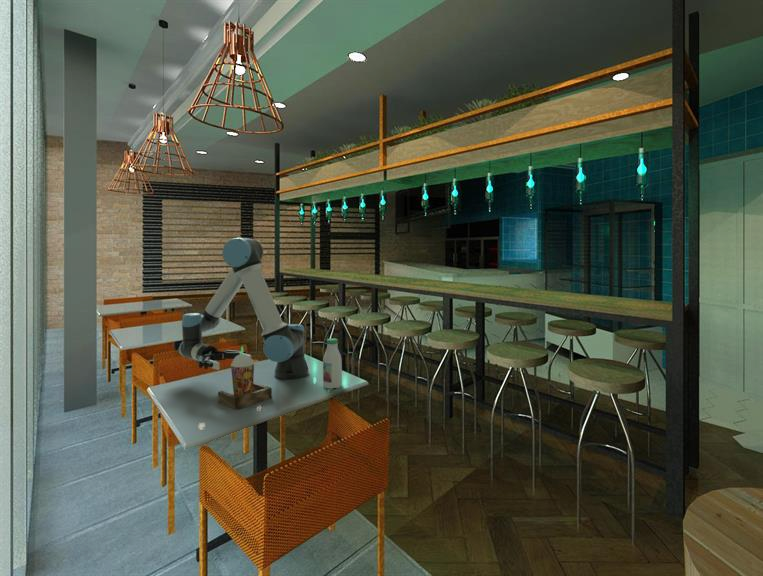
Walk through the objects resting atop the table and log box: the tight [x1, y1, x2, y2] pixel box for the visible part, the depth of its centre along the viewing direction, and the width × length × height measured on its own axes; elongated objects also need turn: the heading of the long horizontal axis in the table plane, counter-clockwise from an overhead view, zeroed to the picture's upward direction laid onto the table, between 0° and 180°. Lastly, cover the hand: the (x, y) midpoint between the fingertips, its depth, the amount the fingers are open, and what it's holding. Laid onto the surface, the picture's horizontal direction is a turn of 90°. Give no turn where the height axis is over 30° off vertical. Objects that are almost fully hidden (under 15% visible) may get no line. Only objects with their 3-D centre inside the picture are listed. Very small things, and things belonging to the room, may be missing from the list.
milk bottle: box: [322, 337, 343, 390], centre depth 171 cm, size 8×8×20 cm
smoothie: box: [230, 346, 255, 397], centre depth 155 cm, size 8×8×20 cm
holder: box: [217, 381, 273, 411], centre depth 155 cm, size 15×12×4 cm
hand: (235, 362), depth 158 cm, fingers open, 13 cm apart
